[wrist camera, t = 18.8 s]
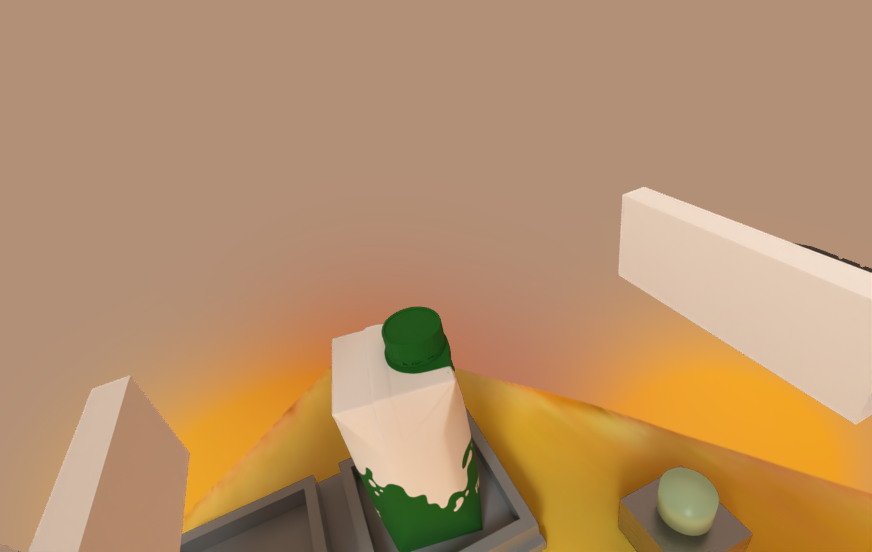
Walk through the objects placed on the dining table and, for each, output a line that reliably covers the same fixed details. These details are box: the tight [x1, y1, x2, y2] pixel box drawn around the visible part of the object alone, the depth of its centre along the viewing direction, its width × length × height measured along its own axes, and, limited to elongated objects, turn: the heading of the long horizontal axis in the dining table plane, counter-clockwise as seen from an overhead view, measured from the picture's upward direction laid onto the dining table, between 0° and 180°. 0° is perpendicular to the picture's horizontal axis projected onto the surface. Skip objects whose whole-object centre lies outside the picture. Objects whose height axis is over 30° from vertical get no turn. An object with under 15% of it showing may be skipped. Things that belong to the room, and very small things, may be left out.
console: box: [618, 465, 753, 552], centre depth 34 cm, size 6×6×4 cm
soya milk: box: [332, 307, 483, 552], centre depth 34 cm, size 9×9×20 cm
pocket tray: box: [180, 407, 546, 552], centre depth 38 cm, size 30×14×3 cm, turn 112°
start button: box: [657, 467, 719, 536], centre depth 32 cm, size 4×4×2 cm
